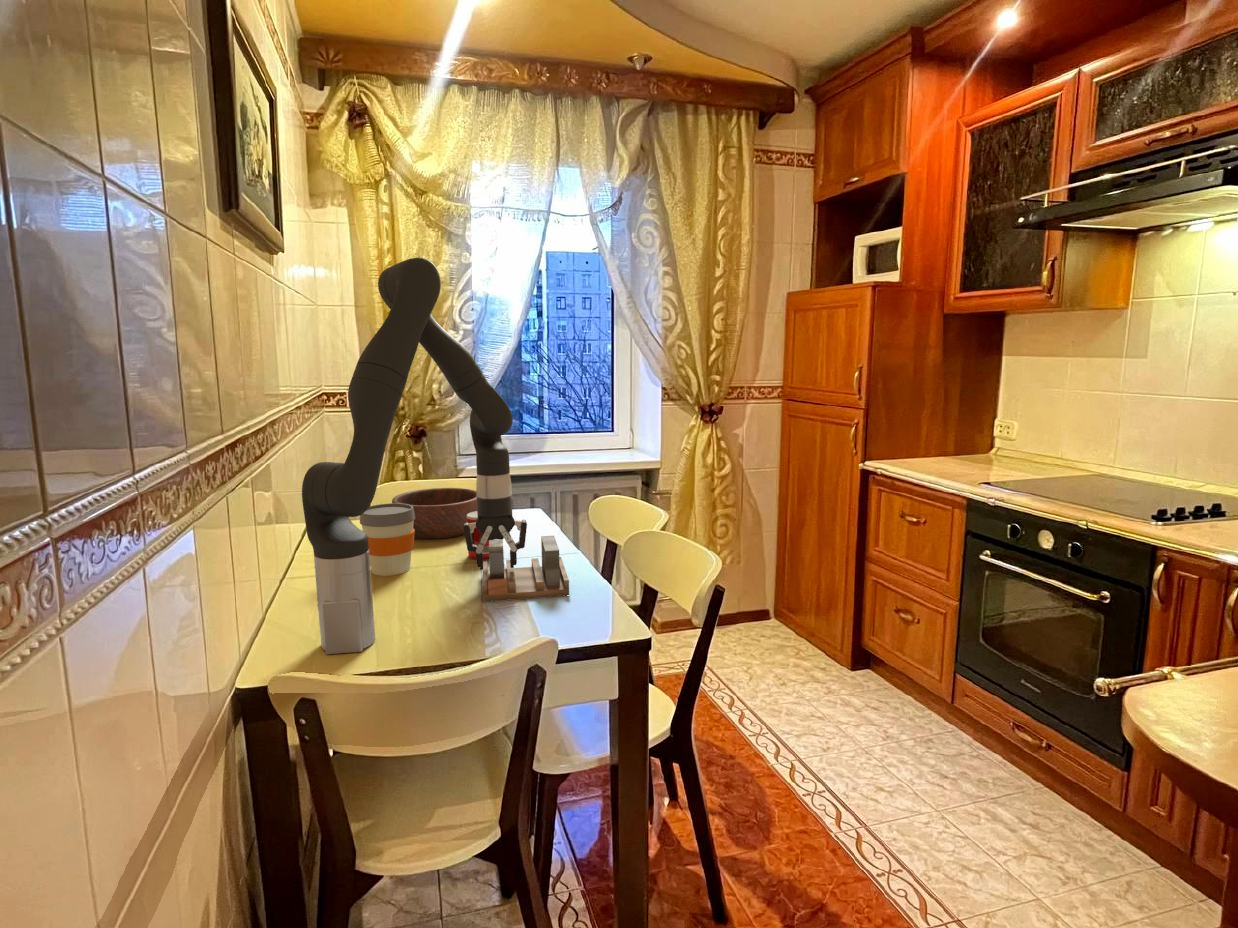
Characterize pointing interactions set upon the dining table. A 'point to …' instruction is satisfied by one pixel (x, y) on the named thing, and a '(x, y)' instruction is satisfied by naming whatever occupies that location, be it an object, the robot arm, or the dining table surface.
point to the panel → (496, 559)
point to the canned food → (477, 537)
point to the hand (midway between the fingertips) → (497, 567)
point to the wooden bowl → (439, 511)
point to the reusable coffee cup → (389, 537)
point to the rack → (529, 577)
